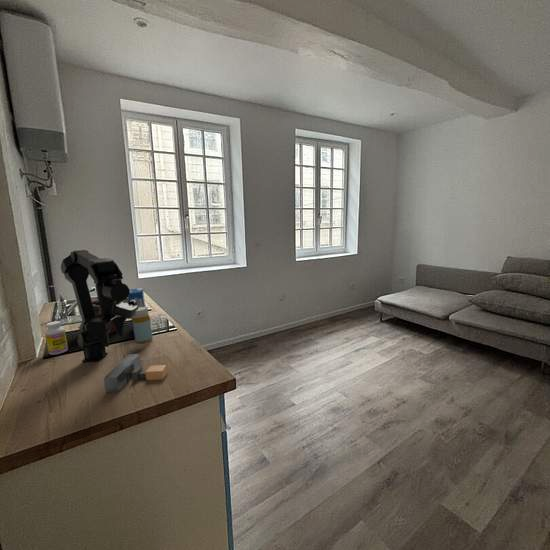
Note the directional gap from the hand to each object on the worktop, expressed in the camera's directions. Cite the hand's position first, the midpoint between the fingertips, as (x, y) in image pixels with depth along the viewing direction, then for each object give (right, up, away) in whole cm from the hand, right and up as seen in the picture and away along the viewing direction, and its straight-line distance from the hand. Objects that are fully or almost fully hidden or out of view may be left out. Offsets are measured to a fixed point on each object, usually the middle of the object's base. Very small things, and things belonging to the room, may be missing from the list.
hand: (114, 340), depth 98 cm
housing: (+5, -12, -2) cm, 13 cm away
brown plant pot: (-30, -5, +45) cm, 54 cm away
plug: (+13, -12, -2) cm, 18 cm away
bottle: (-3, -7, +30) cm, 31 cm away
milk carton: (-12, -5, +44) cm, 46 cm away
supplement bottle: (-36, -10, +22) cm, 43 cm away
